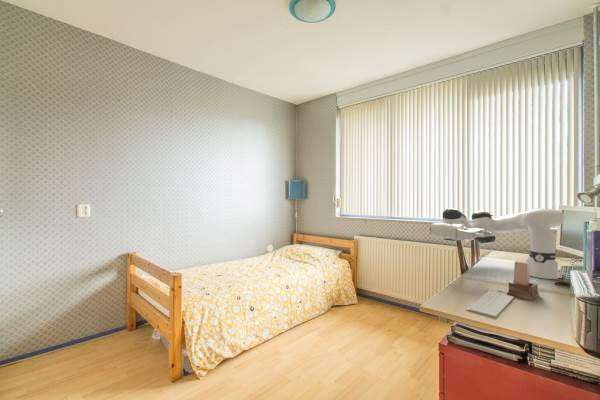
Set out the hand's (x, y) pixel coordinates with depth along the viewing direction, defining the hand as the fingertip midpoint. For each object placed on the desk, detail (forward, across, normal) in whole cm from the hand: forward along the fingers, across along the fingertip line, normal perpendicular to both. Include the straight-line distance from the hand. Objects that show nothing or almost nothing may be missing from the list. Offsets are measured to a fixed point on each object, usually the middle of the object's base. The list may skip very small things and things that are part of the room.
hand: (488, 234), depth 151 cm
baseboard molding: (+9, +27, -27) cm, 39 cm away
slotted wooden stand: (+15, +2, -26) cm, 31 cm away
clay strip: (+15, +2, -25) cm, 29 cm away
